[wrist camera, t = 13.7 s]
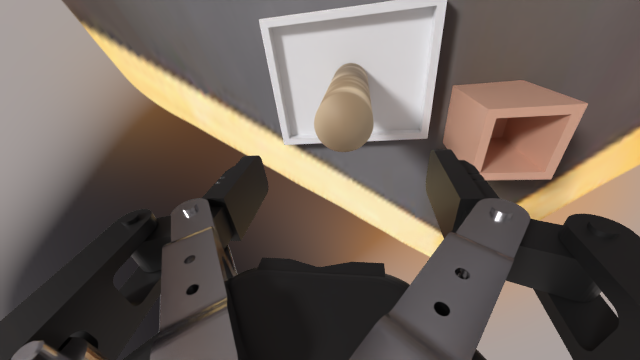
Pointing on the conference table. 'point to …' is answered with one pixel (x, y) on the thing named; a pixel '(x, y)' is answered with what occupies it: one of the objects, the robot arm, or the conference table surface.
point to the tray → (363, 49)
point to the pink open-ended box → (511, 128)
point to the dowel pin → (345, 110)
